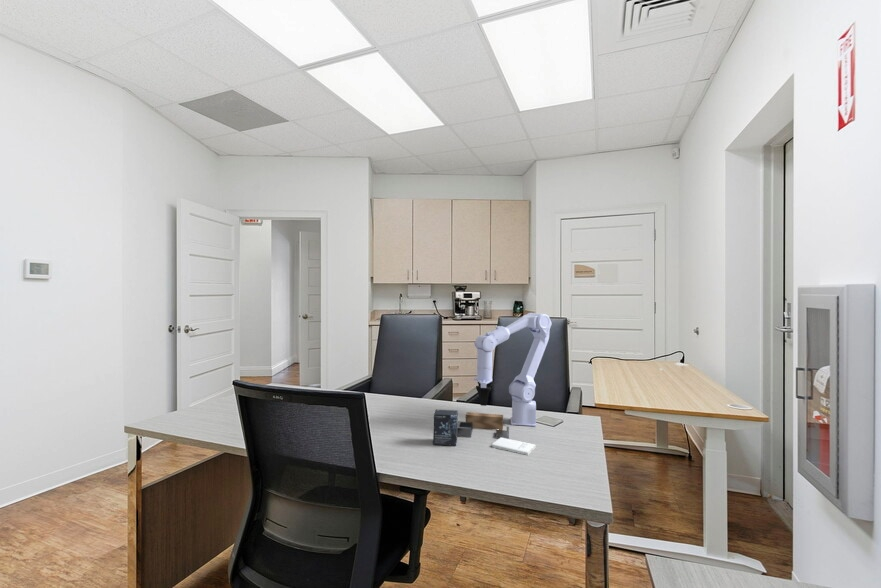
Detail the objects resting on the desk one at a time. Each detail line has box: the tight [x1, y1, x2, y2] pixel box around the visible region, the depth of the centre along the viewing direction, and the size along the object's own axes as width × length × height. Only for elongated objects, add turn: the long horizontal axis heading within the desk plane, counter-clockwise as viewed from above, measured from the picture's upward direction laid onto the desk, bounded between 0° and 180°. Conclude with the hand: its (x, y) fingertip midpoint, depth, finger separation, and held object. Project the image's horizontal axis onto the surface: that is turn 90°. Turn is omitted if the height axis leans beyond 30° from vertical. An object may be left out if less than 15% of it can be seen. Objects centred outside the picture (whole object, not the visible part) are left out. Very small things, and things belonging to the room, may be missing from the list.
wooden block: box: [465, 412, 504, 430], centre depth 157 cm, size 14×4×5 cm, turn 79°
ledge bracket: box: [495, 426, 510, 439], centre depth 148 cm, size 4×6×2 cm
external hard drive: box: [491, 437, 537, 456], centre depth 138 cm, size 2×8×12 cm
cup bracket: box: [457, 420, 474, 438], centre depth 151 cm, size 6×8×3 cm
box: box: [432, 408, 459, 447], centre depth 141 cm, size 8×6×11 cm
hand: (483, 402), depth 157 cm, fingers open, 7 cm apart
